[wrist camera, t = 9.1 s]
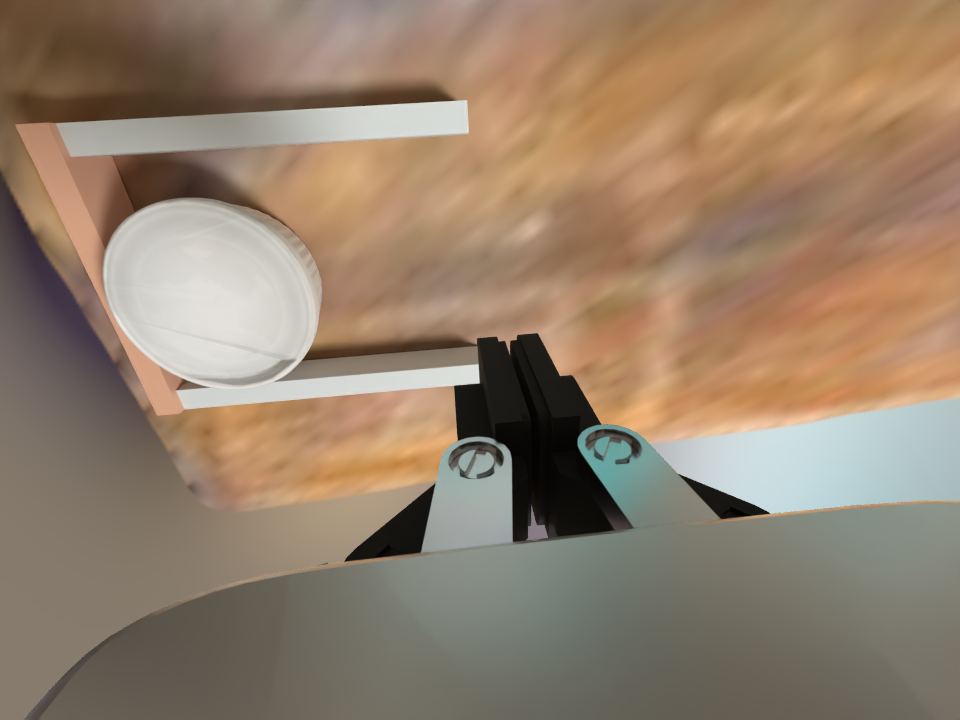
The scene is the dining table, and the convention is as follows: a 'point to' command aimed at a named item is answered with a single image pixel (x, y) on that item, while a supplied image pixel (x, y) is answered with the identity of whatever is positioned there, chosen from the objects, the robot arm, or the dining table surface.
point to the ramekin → (213, 291)
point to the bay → (104, 200)
